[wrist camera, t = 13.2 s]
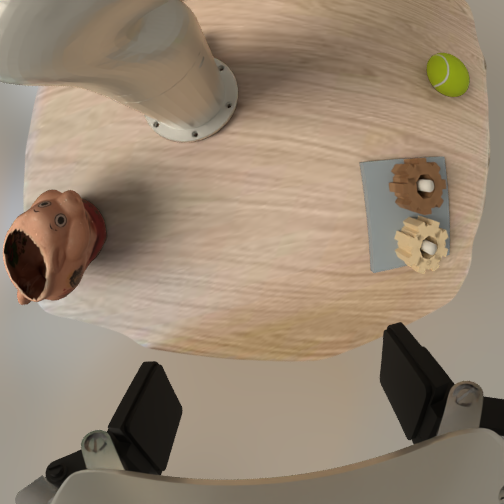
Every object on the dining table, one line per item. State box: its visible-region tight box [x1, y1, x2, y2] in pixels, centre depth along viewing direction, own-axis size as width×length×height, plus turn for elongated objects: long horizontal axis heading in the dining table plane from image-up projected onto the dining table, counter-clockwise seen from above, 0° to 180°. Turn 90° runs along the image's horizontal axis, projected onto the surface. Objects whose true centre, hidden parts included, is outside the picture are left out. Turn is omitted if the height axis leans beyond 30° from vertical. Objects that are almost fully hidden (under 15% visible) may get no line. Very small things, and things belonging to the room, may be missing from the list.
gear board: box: [360, 157, 450, 274], centre depth 31 cm, size 15×14×6 cm
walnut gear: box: [389, 158, 446, 215], centre depth 30 cm, size 7×7×4 cm
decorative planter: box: [3, 190, 106, 305], centre depth 30 cm, size 20×12×14 cm, turn 142°
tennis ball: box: [427, 53, 470, 97], centre depth 25 cm, size 7×7×7 cm
